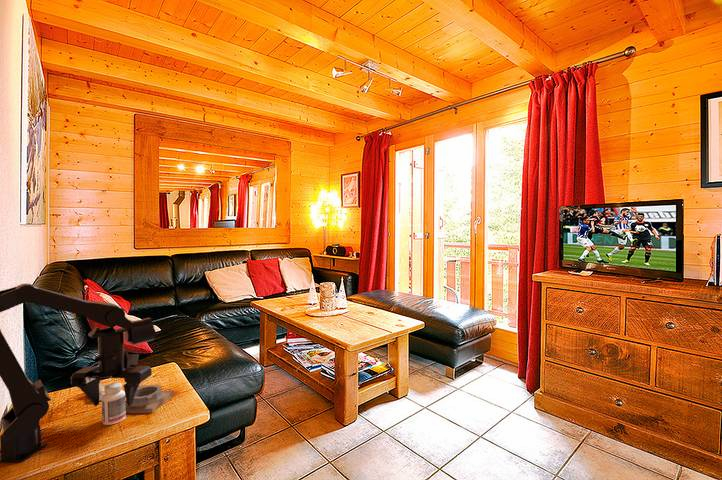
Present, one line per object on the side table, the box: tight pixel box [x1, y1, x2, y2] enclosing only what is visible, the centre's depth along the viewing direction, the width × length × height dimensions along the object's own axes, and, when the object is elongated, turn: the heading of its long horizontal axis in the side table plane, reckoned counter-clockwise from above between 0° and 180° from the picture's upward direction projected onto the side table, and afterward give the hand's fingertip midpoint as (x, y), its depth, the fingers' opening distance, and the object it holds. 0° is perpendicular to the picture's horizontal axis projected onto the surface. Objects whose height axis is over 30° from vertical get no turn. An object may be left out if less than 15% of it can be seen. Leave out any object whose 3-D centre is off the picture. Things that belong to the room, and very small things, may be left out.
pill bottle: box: [101, 382, 127, 426], centre depth 95 cm, size 5×5×10 cm
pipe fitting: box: [99, 382, 112, 402], centre depth 109 cm, size 8×4×7 cm
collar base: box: [125, 384, 174, 414], centre depth 104 cm, size 11×11×4 cm
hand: (113, 405), depth 95 cm, fingers open, 9 cm apart
